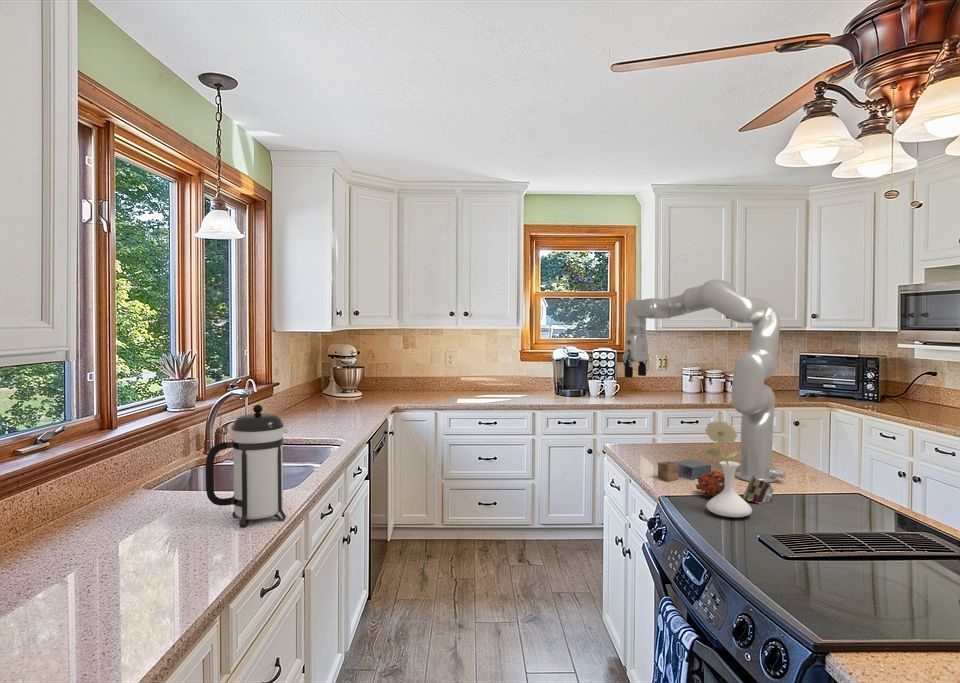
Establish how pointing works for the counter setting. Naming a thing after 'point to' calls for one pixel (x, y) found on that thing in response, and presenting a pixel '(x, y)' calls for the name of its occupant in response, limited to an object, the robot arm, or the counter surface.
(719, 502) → the flower in vase
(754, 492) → the chocolate cake
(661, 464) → the block
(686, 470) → the gray rectangular block
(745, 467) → the robot arm
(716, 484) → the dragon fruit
